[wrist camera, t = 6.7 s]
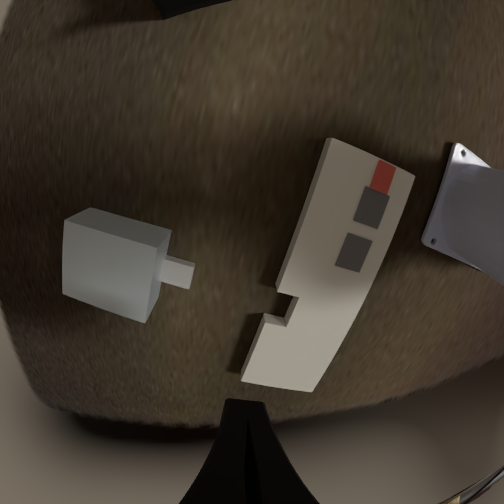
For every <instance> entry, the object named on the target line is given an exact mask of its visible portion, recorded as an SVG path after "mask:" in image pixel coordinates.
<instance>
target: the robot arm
mask: <svg viewBox="0 0 504 504" xmlns="http://www.w3.org/2000/svg"><path fill="white" fill-rule="evenodd" d="M461 151H462V152H463V154H461ZM432 239H433V242H432V243H431V240H432ZM421 241H422V243H423V244H424V245H425V246H427V247H430V248H432V249H435V250H437V251H439V252H441V253H444V254H446V255H448V256H451V257H453V258H455V259H457V260H459V261H462V262H464V263H466V264H468V265H470V266H472V267H475V268H477V269H479V270H481V271H483V272H485V273H486V274H488V275H489V276H491V277H492V278H494V279H495V280H496V281H498V282H499V283H501V284H502V285H503V286H504V171H502V170H498V169H494V168H491V167H490V166H488V165H487V164H486V163H485V162H484V161H482V160H481V159H480V158H479V157H477V156H476V155H475V154H473V153H472V152H471V151H470V150H468V149H467V148H466V147H464V146H463V145H462V144H460V143H454V144H453V145H452V148H451V152H450V156H449V159H448V163H447V166H446V169H445V173H444V176H443V179H442V182H441V185H440V188H439V191H438V194H437V197H436V200H435V203H434V206H433V209H432V211H431V214H430V217H429V219H428V222H427V225H426V227H425V230H424V232H423V235H422V238H421ZM179 504H320V503H319V502H318V501H317V500H316V499H315V497H314V496H313V495H312V494H311V492H310V491H309V490H308V488H307V487H306V486H305V484H304V483H303V482H302V480H301V479H300V477H299V476H298V474H297V473H296V471H295V469H294V468H293V466H292V464H291V463H290V461H289V459H288V457H287V455H286V454H285V452H284V450H283V448H282V446H281V444H280V442H279V440H278V438H277V435H276V433H275V431H274V428H273V426H272V423H271V421H270V418H269V415H268V413H267V410H266V406H265V404H264V403H263V402H259V401H249V400H240V399H232V398H228V399H226V400H225V404H224V408H223V412H222V417H221V421H220V425H219V431H218V434H217V436H216V439H215V442H214V444H213V447H212V449H211V451H210V453H209V455H208V457H207V459H206V461H205V463H204V465H203V467H202V468H201V470H200V472H199V474H198V476H197V477H196V479H195V480H194V482H193V484H192V485H191V487H190V488H189V490H188V491H187V493H186V494H185V496H184V497H183V499H182V500H181V501H180V503H179Z"/></svg>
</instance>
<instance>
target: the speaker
mask: <svg viewBox="0 0 504 504" xmlns="http://www.w3.org/2000/svg"><path fill="white" fill-rule="evenodd" d="M153 1H154V3H155V5H156V6H157V8H158V10H159V12H160V13H161V15H162V17H163V18H164V19H167V18H170V17H173V16H176V15H179V14H182V13H185V12H188V11H192V10H195V9H198V8H202V7H206V6H209V5H213V4H217V3H221V2H226V1H230V0H153Z"/></svg>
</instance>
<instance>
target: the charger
mask: <svg viewBox="0 0 504 504" xmlns="http://www.w3.org/2000/svg"><path fill="white" fill-rule="evenodd" d="M171 232H172V230H170V229H166V228H162V227H159V226H155V225H152V224H148V223H145V222H141V221H138V220H134V219H130V218H127V217H123V216H120V215H116V214H113V213H109V212H106V211H102V210H99V209H95V208H91V207H90V208H88V209H86V210H83V211H81V212H79V213H77V214H75V215H73V216H71V217H69V218H67V219H65V220H64V232H63V253H62V294H64V295H67V296H69V297H72V298H75V299H77V300H80V301H82V302H85V303H88V304H90V305H93V306H96V307H98V308H101V309H104V310H107V311H110V312H112V313H115V314H118V315H121V316H124V317H127V318H130V319H133V320H136V321H139V322H142V323H146V321H147V319H148V317H149V315H150V313H151V311H152V309H153V307H154V305H155V303H156V301H157V299H158V297H159V292H160V286H161V281H162V282H165V283H168V284H172V285H175V286H179V287H182V288H186V289H189V288H190V285H191V281H192V277H193V273H194V269H195V264H196V263H193V262H190V261H186V260H183V259H179V258H176V257H172V256H169V255H167V250H168V245H169V241H170V236H171Z"/></svg>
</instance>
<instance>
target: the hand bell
mask: <svg viewBox="0 0 504 504" xmlns="http://www.w3.org/2000/svg"><path fill="white" fill-rule="evenodd" d="M459 499H460V496H458V497H457V498H455V499H453V500H451V501H449V502H448V503H446V504H459Z"/></svg>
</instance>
